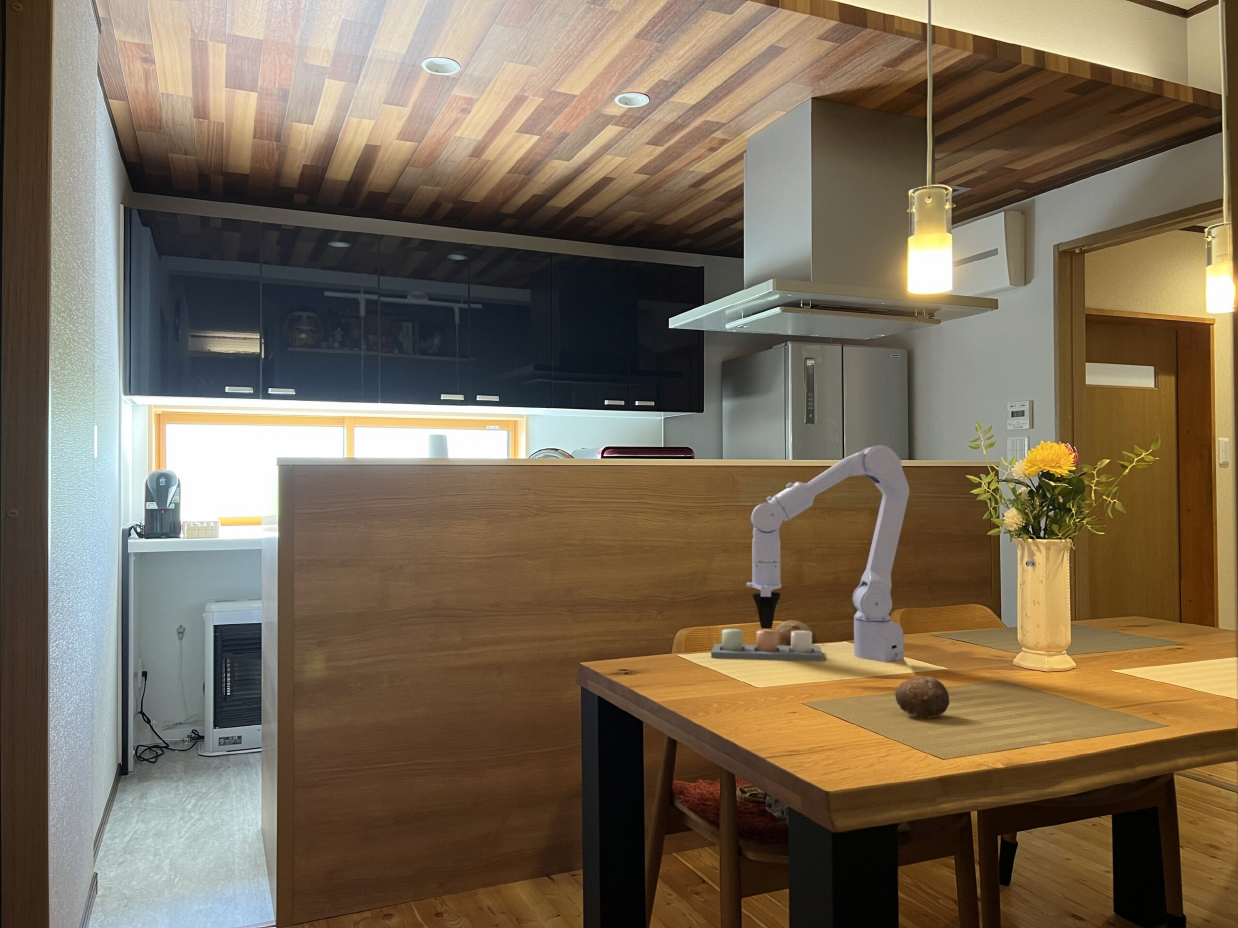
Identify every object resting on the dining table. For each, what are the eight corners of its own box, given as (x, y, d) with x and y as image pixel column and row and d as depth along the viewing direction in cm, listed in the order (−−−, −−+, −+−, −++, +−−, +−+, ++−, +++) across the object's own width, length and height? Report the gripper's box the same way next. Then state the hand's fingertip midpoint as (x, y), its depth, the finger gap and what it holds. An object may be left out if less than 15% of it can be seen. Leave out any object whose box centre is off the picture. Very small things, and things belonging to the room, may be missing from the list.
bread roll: (769, 661, 212) (756, 630, 211) (803, 639, 216) (790, 608, 215) (795, 669, 203) (782, 637, 202) (830, 645, 207) (817, 613, 206)
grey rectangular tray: (820, 658, 195) (820, 646, 196) (822, 667, 186) (822, 655, 186) (714, 655, 199) (714, 643, 199) (711, 664, 189) (711, 652, 189)
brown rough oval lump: (910, 684, 155) (914, 658, 151) (955, 710, 150) (960, 683, 146) (884, 714, 150) (887, 688, 147) (929, 741, 145) (934, 715, 142)
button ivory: (811, 654, 193) (811, 630, 193) (812, 657, 189) (812, 633, 189) (790, 653, 194) (790, 630, 194) (791, 657, 190) (791, 633, 190)
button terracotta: (777, 653, 194) (777, 629, 194) (777, 656, 190) (776, 633, 190) (756, 652, 195) (756, 629, 195) (756, 656, 191) (756, 632, 191)
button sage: (743, 652, 195) (742, 629, 195) (742, 655, 191) (742, 632, 191) (722, 651, 196) (722, 628, 196) (721, 655, 192) (721, 631, 192)
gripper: (747, 558, 201) (747, 622, 200) (745, 564, 186) (745, 632, 186) (781, 559, 200) (781, 623, 199) (781, 564, 185) (781, 633, 185)
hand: (766, 628), depth 193 cm, fingers closed
